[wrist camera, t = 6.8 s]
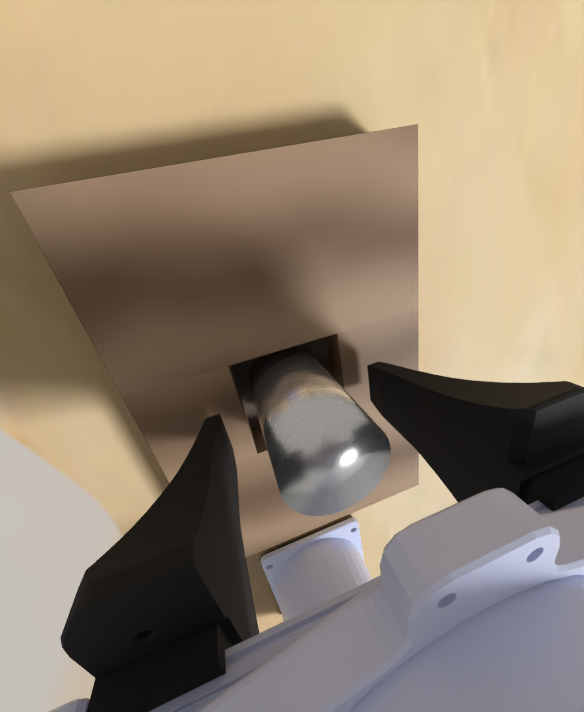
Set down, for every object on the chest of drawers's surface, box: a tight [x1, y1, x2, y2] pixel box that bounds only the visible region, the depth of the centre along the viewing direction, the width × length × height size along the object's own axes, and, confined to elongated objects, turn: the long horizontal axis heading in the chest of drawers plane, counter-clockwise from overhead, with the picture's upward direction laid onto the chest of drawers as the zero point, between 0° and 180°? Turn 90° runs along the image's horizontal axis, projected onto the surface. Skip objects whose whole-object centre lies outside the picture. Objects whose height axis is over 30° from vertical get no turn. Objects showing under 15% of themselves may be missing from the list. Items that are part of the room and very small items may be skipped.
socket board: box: [10, 124, 419, 558], centre depth 15 cm, size 20×14×2 cm
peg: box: [249, 346, 391, 516], centre depth 12 cm, size 4×4×7 cm
